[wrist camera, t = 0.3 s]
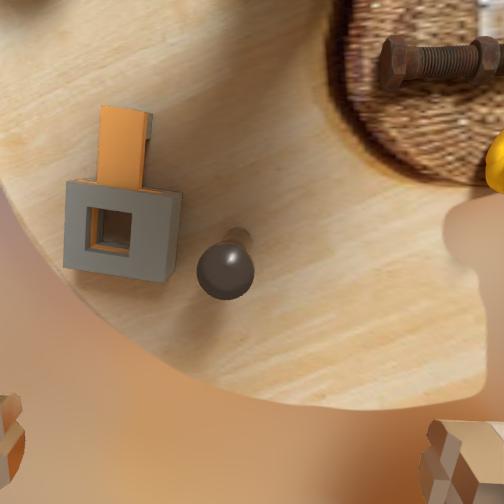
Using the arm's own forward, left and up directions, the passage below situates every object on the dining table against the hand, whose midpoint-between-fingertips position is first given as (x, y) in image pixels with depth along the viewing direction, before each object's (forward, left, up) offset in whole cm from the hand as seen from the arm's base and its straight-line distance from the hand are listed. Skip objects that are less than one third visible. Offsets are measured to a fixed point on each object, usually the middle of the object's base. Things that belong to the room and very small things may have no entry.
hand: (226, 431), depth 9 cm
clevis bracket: (+2, -17, -46) cm, 49 cm away
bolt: (-18, +18, -47) cm, 53 cm away
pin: (+7, -3, -46) cm, 47 cm away
